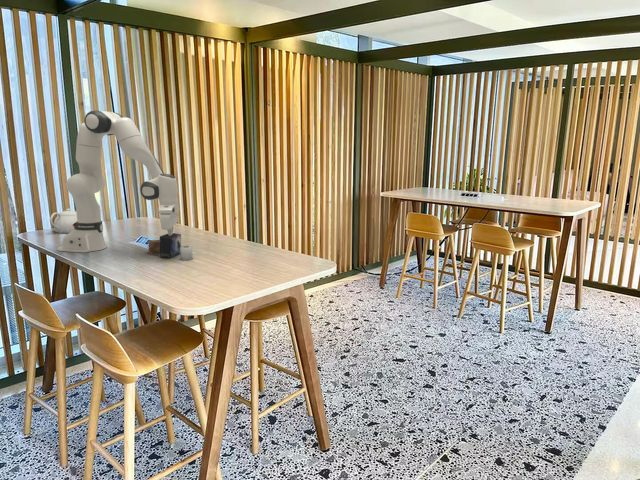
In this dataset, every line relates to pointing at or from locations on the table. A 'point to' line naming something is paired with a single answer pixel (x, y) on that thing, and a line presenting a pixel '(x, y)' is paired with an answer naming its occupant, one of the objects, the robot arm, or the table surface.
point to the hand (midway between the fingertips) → (170, 235)
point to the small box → (170, 245)
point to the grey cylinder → (186, 252)
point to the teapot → (64, 221)
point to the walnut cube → (154, 246)
